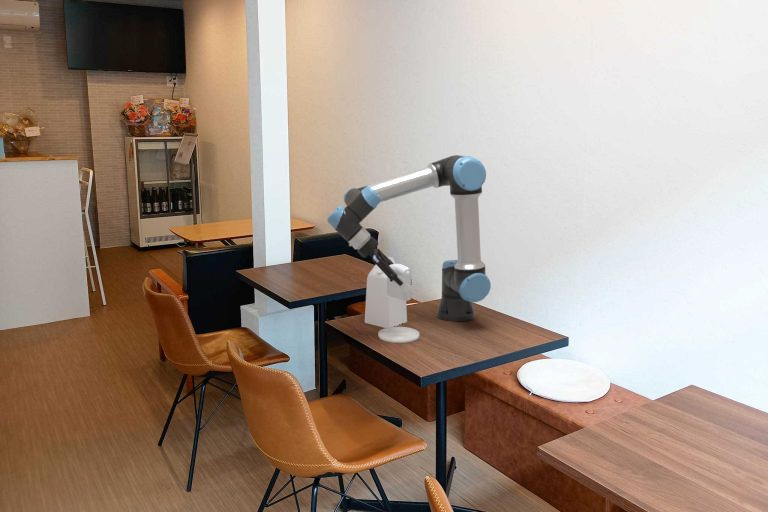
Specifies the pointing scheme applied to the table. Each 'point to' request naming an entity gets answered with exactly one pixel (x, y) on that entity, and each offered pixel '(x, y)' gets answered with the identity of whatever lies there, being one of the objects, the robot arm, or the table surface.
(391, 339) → the white plate
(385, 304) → the milk
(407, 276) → the photo printer
